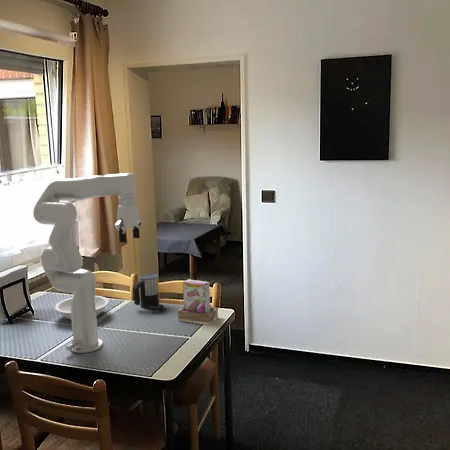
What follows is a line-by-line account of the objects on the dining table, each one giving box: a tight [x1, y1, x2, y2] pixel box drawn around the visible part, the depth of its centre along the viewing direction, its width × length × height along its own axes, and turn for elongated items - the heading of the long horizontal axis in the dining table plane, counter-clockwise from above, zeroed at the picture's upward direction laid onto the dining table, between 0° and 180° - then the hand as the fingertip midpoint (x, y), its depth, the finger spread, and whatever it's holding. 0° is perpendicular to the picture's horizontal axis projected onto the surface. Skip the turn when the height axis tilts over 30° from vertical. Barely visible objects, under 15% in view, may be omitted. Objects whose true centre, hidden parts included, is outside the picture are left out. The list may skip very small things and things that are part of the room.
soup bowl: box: [54, 295, 110, 320], centre depth 243 cm, size 24×24×7 cm
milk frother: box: [132, 273, 167, 312], centre depth 252 cm, size 14×16×15 cm
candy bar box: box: [182, 278, 211, 314], centre depth 235 cm, size 11×5×16 cm, turn 61°
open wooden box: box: [177, 306, 219, 326], centre depth 236 cm, size 9×15×4 cm, turn 65°
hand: (129, 240), depth 235 cm, fingers open, 9 cm apart
